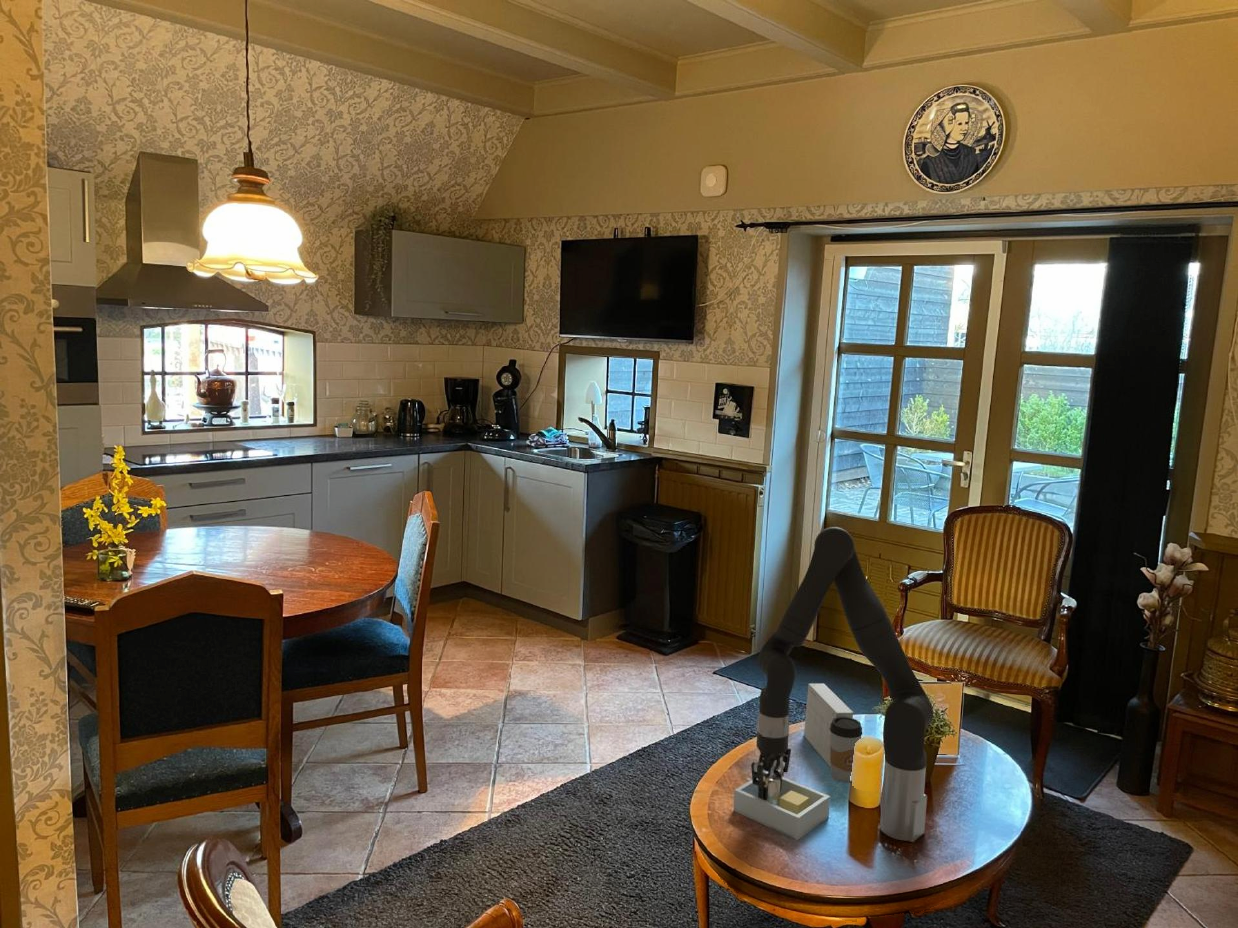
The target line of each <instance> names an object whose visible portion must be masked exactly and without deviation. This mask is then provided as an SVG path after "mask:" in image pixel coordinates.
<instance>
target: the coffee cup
mask: <svg viewBox="0 0 1238 928" xmlns="http://www.w3.org/2000/svg"><path fill="white" fill-rule="evenodd" d="M861 724H862V723H861V722H860V720H857V719H855V718H848V717H837V718H834V719H833V720H832V723H831V725H830V733H831V745H830V762H831V767H830V774H831V777H832V778H833V779H834V780H835V779H836V781H838V782H841V781H842V783H850V782H849V781H850V776H851V772H852V763H853V755H854V746H855V743H856V742H857V741H858V740H859V739H861V740H862V735H863V727H862V725H861Z"/></svg>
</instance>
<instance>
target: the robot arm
mask: <svg viewBox="0 0 1238 928" xmlns="http://www.w3.org/2000/svg"><path fill="white" fill-rule="evenodd" d="M813 546H814V549H813V552H812V556H811V559H810V563H809V564H808V568H807V570H806V573H805V575H804V577H803V579H802V582H801V583H800V585H799V586H798V589H797V591H795V593H794V595H793V597H792V598H791V601H790V602H789V604H788V606H787V608H786V610H785V612H784V614H783V616H782V618H781V620H780V622H779V623H778V627H777V629H776V630H775V631H774V632H773V633H772V634H771V635H770V637H769V638H768V639H767V641H766V642H765V643H764V644H763V646H762V647H761V649H760V652H759V654H758V658H757V665H758V667H759V669H760V670H761V672H762V673H763V674H764V675H765V676H766V677H767V678H766V679H767V681H766V686H763V688H762V689H761V691H760V693H759V704H758V705H759V708H758V716H757V723H756V724H757V725H756V727H757V729H756V748H757V749H758V750H759V752H760V753H759V757H758V761H757V762H754V761H753V762H752V763H751V765H750V766H751V780H752V783H753V784H754V785H757V786H758V798H760V799H762V800H765V801H766V800H767V794H768V782H769V779H770V778H771V777H772V774H774V775H777V776H778V777H780V779H781V783H780V791H781V786H782V777H784V776H785V773H788V771H789V766H790V760H791V753H792V749H791V748H789V736H790V735H789V732H790V718H789V717H790V714H789V713H790V712H789V711H790V696H791V694H792V691H793V687H794V685H795V684H794V683H795V679H796V674H797V673H796V666H795V665H796V664H795V662H794V659H792V657H790V655H789V654H790V653H791V651H792V649H794V647H801V646H802V645H803V644H804V643H805V641H806V640H807V637H808V635H809V633H810V631H811V629H812V627H813V625H814V623H815V621H816V618H817V617H818V614H819V611H820V609H821V606H822V604H823V601H824V600H825V597H826V595H827V593H828V591H829V590H830V588H831V586H832V584H833V583H834V585H835V588H836V591H837V594H838V596H839V600H840V603H841V606H842V610H843V613H844V616H845V619H846V622H847V624H848V627H849V630H850V631H851V634H852V636H853V638H854V640H855V642H856V646H858V648H859V650H860V651H861V653H862V655H864V657H865V658H866V659H867V661H869V662H870V663H871V665H873V667H874V668H875V669H876V670H877V671H878V673H879V674H880V676H881V677H882V679H883V680H884V682H885V685H886V687H887V689H888V692H889V694H890V697H891V700H892V702H890V703H889V705H888V706H887V707H886V710H885V714H884V723H883V743H882V744H883V750H884V754H885V755H884V769H883V780H882V781H883V782H882V793H881V795H882V796H881V807H880V808H881V809H880V817H879V819H880V823H879V829H880V831H881V832H882V833H883V834H885V835H886V836H888V837H889V838H892V839H894V840H899V841H908V842H911V843H914V842H915V841H917V840H918V839H919V838H920V837H922V836H923V834H924V833H925V827H926V818H927V817H926V815H927V803H928V802H927V801H928V795H927V794H925V784H926V769H927V762H928V761H927V759H928V757H927V756H928V755H927V753H926V751H925V738H926V737H925V734H926V729H927V728H928V727H930V724H931V723H932V720H933V718H934V708H933V705H932V702H931V700H930V698H929V697H928V695H927V693H926V691H925V690H924V689H923V687H922V684H921V683H920V681H919V680H918V678H917V677H916V674H915V672H914V671H913V668H912V666H911V665H910V663H909V661H908V658H907V656H906V654H905V653H906V652H905V651H904V649H903V647H902V645H901V642H900V639H898V636H897V633H896V631H895V628H894V626H893V625H892V622H891V619H890V617H889V615H888V614H887V611H886V610H885V608H884V605H883V603H881V600H880V599H879V597H878V595H877V594H876V592H875V590H874V588H873V587H872V586H871V584H870V582H869V580H868V579H867V577H866V575H865V573H864V571H863V569H862V567H861V563H860V560H859V557H858V553H857V551H856V548H855V547H856V546H855V541H854V539H853V537H852V535H851V534H850V533H849V532H848V531H847V530H846V529H843V528H842V527H838V526H829V527H826V528H824V529H823V530H821V531H820V532H819V533H818V534H817V535H816V538H815V540H814V545H813ZM766 771H767V772H768V774H767V773H765V772H766ZM763 776H765V781H763ZM757 778H758V779H757Z"/></svg>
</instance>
